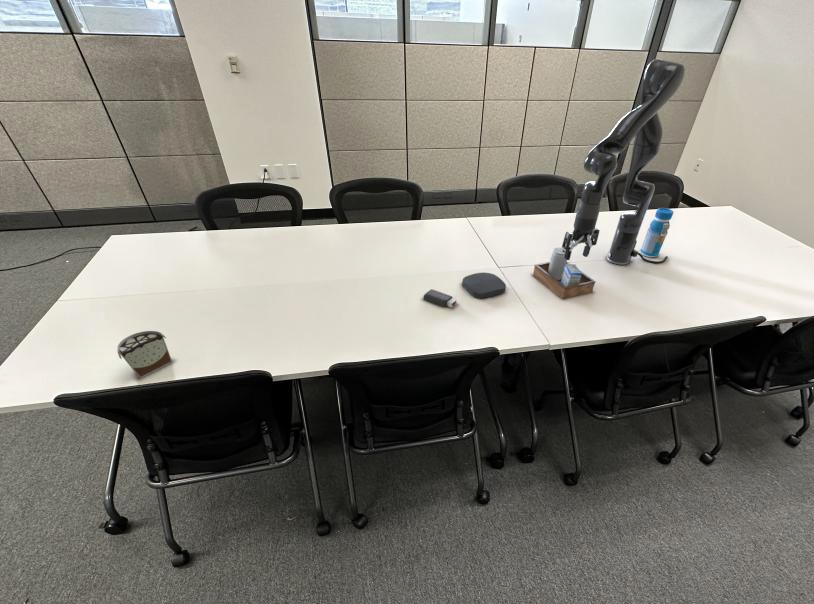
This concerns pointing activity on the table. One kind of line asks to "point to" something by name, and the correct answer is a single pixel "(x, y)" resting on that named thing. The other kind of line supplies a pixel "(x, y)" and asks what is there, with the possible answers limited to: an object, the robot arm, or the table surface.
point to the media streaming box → (483, 285)
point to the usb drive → (439, 298)
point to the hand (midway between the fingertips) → (576, 257)
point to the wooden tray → (558, 288)
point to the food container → (144, 352)
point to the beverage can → (557, 263)
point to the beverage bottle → (656, 233)
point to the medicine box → (570, 275)
